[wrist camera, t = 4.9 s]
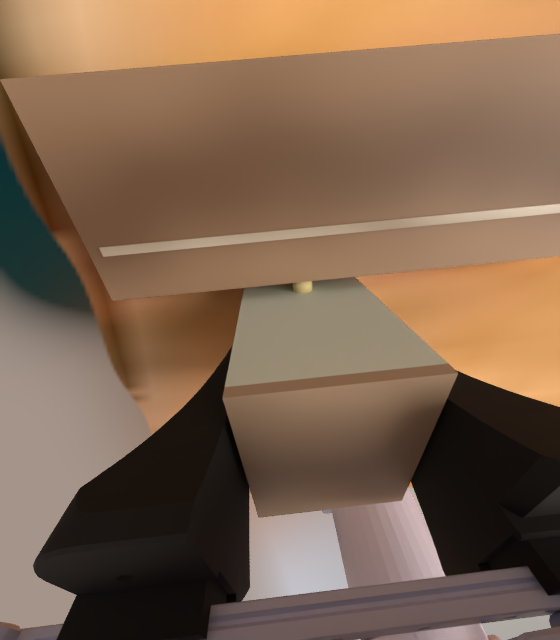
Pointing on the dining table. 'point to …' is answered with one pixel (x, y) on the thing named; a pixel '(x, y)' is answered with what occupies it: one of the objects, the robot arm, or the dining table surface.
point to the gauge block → (329, 396)
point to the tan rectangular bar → (305, 163)
